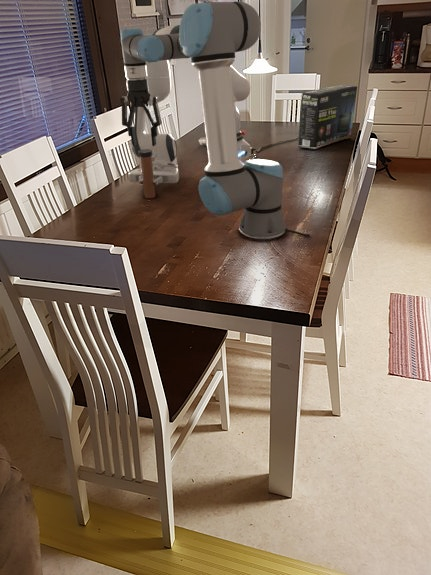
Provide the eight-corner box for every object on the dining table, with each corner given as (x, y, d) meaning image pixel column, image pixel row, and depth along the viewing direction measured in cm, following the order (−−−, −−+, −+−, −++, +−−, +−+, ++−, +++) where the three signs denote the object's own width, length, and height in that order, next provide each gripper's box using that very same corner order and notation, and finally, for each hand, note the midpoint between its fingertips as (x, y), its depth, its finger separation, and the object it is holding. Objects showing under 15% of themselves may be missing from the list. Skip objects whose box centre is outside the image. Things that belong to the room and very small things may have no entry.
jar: (142, 196, 184) (137, 151, 175) (152, 193, 186) (147, 149, 177) (147, 199, 180) (142, 154, 171) (157, 196, 183) (153, 152, 173)
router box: (314, 151, 231) (318, 94, 217) (296, 148, 237) (299, 92, 224) (352, 138, 251) (358, 85, 238) (335, 135, 258) (340, 83, 245)
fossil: (222, 142, 237) (203, 124, 241) (211, 159, 244) (193, 141, 247) (239, 140, 251) (221, 123, 254) (229, 157, 258) (211, 140, 261)
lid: (136, 155, 175) (135, 150, 174) (148, 152, 178) (148, 148, 177) (142, 158, 172) (141, 153, 171) (154, 155, 174) (154, 150, 173)
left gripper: (134, 163, 191) (121, 173, 180) (181, 164, 187) (171, 175, 176) (135, 178, 194) (124, 189, 183) (182, 179, 191) (173, 191, 179)
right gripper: (105, 80, 159) (115, 147, 171) (161, 79, 156) (167, 147, 168) (113, 77, 166) (122, 142, 178) (167, 76, 162) (172, 142, 174)
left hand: (147, 182), depth 179 cm, fingers closed on jar, 4 cm apart
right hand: (144, 144), depth 173 cm, fingers open, 7 cm apart
